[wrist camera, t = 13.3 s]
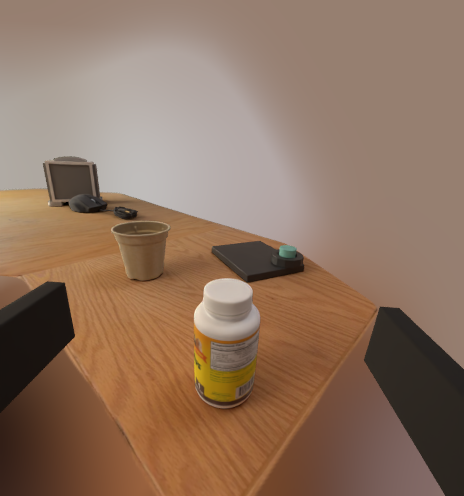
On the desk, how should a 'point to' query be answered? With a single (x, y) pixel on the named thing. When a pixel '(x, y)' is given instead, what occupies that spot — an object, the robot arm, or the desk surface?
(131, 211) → the computer mouse
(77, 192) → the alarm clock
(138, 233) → the flower pot
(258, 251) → the scale
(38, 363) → the robot arm
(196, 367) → the supplement bottle
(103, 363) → the desk surface
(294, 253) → the button
